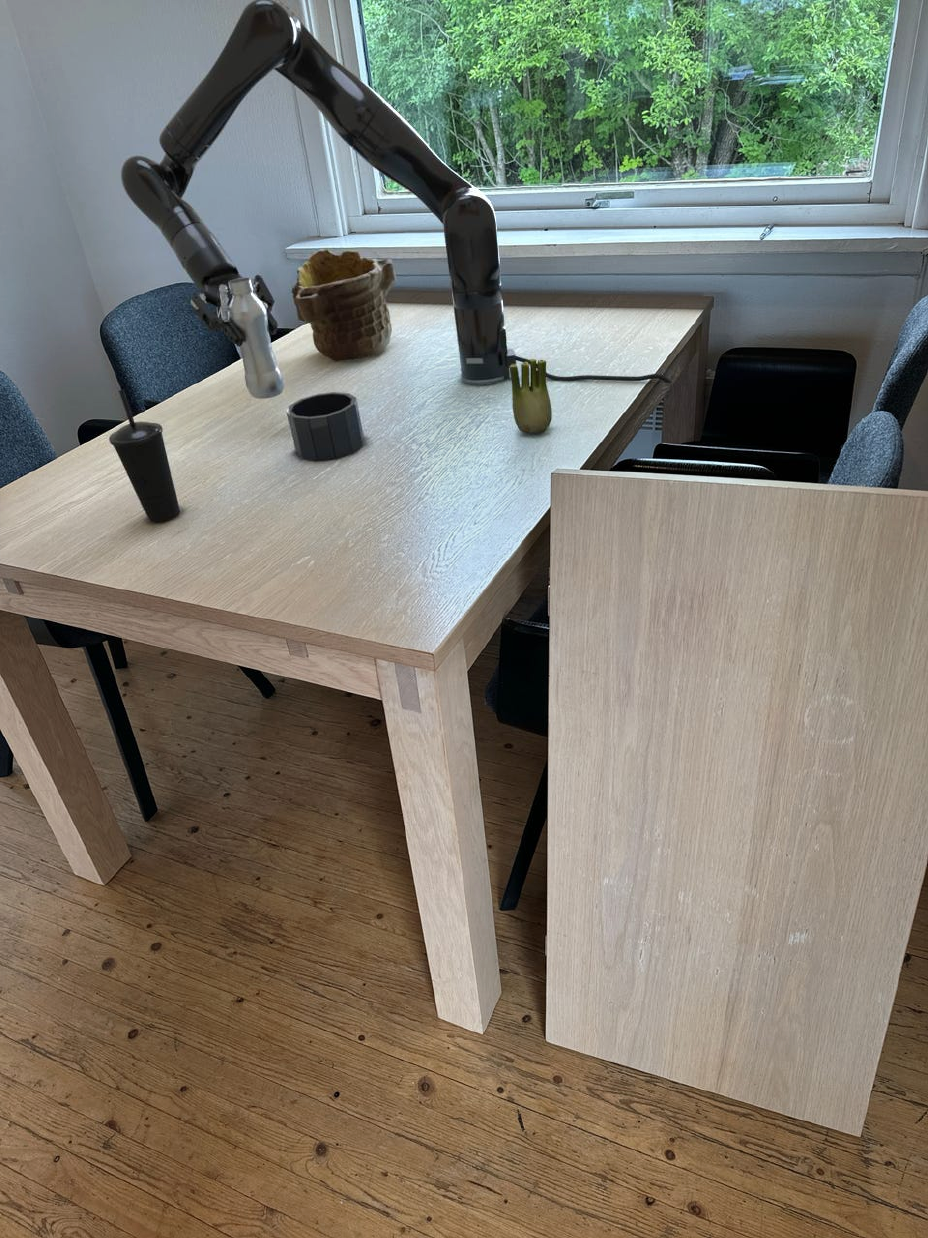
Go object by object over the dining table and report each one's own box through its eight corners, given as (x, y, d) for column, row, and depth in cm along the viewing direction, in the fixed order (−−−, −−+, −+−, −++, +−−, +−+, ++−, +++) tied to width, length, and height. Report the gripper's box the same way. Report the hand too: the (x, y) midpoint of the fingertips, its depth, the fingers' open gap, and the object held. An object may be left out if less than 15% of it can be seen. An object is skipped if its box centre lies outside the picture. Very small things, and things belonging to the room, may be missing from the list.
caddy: (366, 429, 155) (358, 388, 151) (360, 456, 146) (352, 413, 141) (302, 437, 156) (292, 396, 152) (292, 464, 146) (282, 421, 142)
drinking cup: (145, 507, 138) (101, 385, 127) (192, 501, 138) (153, 378, 127) (134, 530, 132) (87, 403, 121) (184, 523, 132) (141, 395, 121)
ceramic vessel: (400, 330, 175) (309, 231, 169) (332, 402, 190) (245, 314, 183) (437, 296, 192) (355, 205, 186) (371, 365, 207) (294, 283, 201)
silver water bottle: (279, 402, 153) (250, 283, 141) (243, 403, 154) (212, 286, 143) (292, 389, 158) (265, 273, 146) (257, 390, 159) (228, 276, 148)
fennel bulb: (513, 436, 145) (506, 365, 138) (522, 424, 148) (516, 355, 142) (546, 437, 143) (541, 365, 136) (555, 426, 146) (550, 355, 140)
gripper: (169, 253, 143) (226, 336, 142) (243, 233, 150) (298, 311, 149) (164, 284, 149) (218, 363, 148) (235, 263, 157) (287, 338, 156)
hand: (258, 337), depth 149 cm, fingers closed on silver water bottle, 6 cm apart
